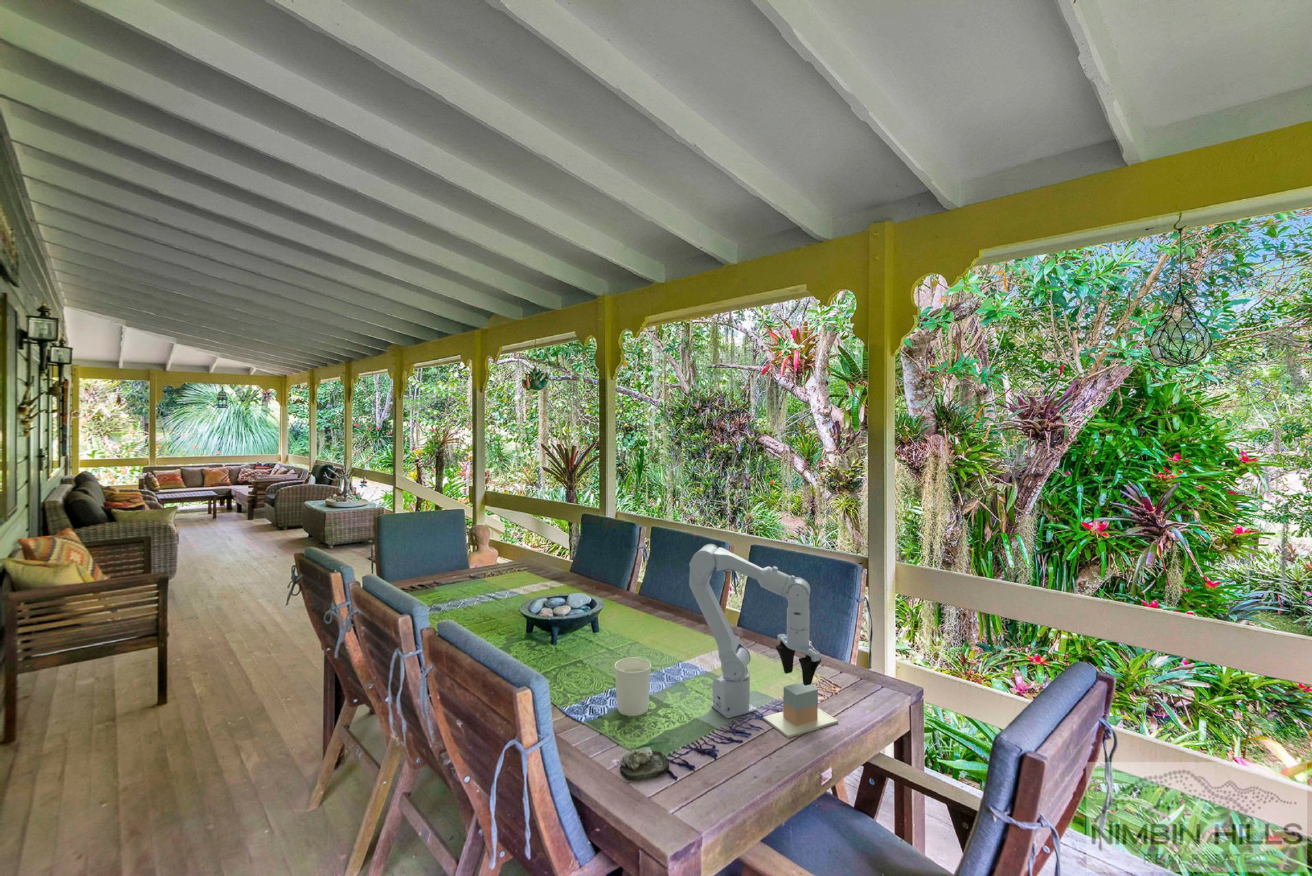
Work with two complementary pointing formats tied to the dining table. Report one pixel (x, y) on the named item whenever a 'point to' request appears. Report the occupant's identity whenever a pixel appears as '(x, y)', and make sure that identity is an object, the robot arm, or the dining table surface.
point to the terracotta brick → (800, 714)
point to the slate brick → (800, 696)
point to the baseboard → (793, 730)
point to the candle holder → (632, 685)
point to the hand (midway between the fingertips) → (797, 678)
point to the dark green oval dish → (643, 764)
